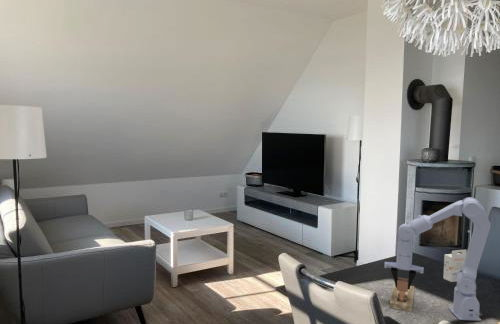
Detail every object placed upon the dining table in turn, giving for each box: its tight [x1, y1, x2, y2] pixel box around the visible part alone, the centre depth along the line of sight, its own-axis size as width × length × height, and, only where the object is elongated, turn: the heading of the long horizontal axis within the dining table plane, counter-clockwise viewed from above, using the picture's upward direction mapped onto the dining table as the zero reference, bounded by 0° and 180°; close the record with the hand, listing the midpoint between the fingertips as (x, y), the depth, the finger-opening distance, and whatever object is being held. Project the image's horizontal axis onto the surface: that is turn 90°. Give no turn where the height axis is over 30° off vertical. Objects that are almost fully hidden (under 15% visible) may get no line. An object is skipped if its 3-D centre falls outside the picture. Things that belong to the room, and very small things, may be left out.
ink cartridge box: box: [442, 249, 467, 283], centre depth 189 cm, size 9×5×15 cm, turn 105°
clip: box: [397, 276, 409, 302], centre depth 163 cm, size 4×7×8 cm, turn 156°
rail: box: [389, 284, 415, 312], centre depth 167 cm, size 8×22×2 cm, turn 156°
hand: (402, 287), depth 163 cm, fingers closed on clip, 4 cm apart
